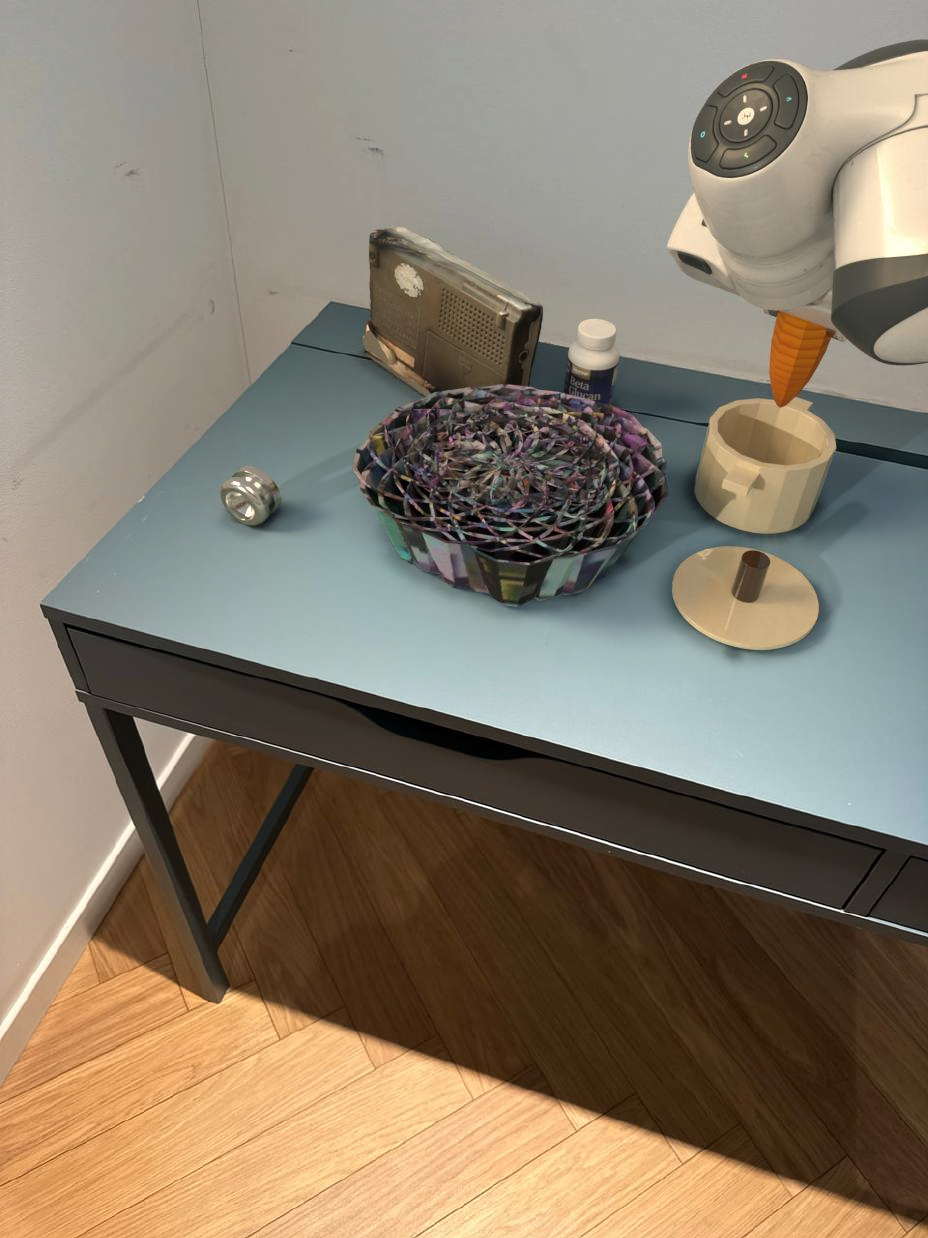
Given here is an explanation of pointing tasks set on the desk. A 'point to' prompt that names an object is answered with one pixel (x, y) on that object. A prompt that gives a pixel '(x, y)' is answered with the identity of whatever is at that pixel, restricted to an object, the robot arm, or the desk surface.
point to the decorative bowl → (512, 488)
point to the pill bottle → (593, 362)
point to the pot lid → (745, 598)
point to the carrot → (794, 355)
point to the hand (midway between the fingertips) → (808, 319)
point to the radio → (445, 318)
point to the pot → (764, 464)
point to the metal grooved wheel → (250, 495)
